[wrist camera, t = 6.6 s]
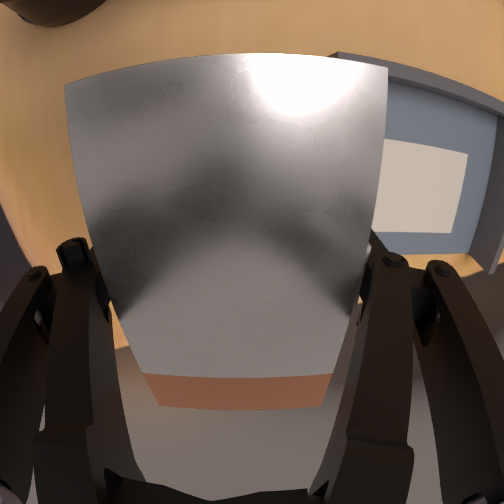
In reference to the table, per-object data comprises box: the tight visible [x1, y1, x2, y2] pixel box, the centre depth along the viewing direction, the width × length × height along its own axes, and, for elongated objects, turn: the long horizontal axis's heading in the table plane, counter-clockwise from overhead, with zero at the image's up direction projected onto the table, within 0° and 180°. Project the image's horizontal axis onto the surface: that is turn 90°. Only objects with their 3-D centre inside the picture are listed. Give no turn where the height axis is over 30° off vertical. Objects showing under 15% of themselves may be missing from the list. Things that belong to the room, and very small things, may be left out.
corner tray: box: [327, 52, 504, 274], centre depth 23 cm, size 20×24×6 cm
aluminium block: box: [64, 53, 388, 410], centre depth 12 cm, size 14×8×8 cm, turn 1°
